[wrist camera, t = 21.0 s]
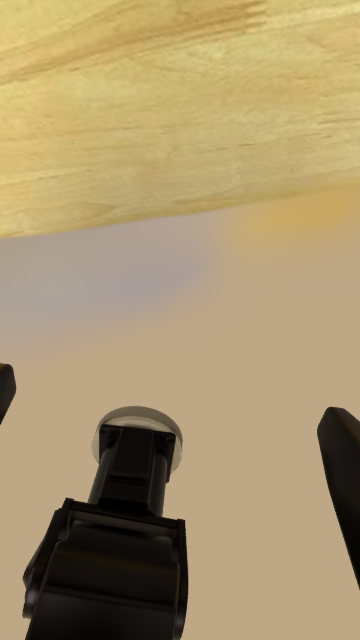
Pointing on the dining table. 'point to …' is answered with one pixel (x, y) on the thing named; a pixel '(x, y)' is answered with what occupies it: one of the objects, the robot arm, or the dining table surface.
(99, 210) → the dining table surface
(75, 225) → the dining table surface
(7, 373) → the robot arm
